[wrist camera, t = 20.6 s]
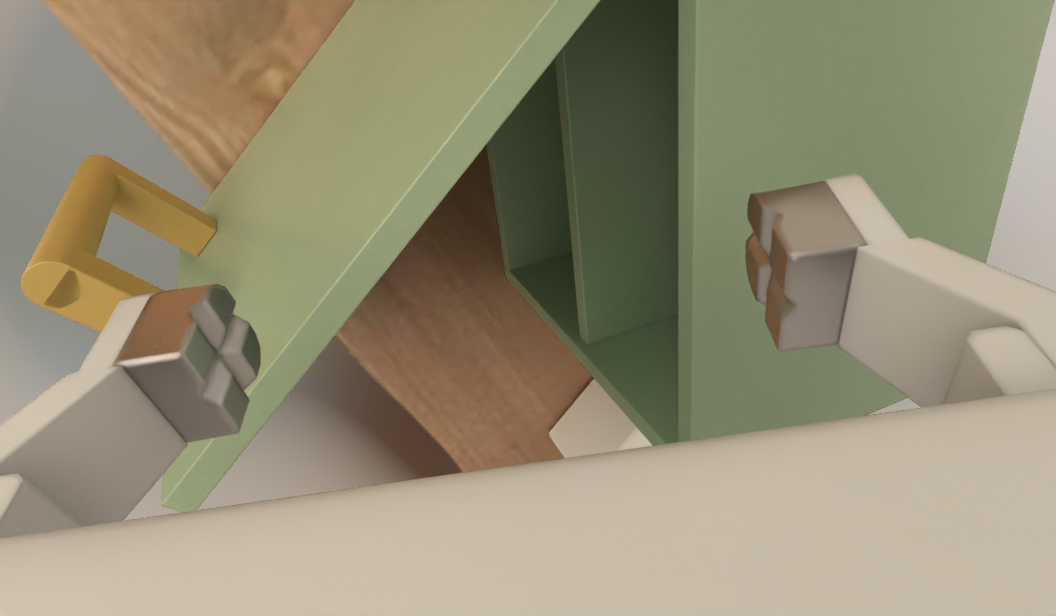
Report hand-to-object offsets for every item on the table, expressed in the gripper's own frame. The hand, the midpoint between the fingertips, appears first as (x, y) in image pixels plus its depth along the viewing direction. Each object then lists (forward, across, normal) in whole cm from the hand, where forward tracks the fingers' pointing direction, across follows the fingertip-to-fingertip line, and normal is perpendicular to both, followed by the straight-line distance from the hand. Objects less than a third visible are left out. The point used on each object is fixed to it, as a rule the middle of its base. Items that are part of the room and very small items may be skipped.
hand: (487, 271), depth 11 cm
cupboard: (+32, -4, +13) cm, 35 cm away
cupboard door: (+27, +13, +5) cm, 30 cm away
